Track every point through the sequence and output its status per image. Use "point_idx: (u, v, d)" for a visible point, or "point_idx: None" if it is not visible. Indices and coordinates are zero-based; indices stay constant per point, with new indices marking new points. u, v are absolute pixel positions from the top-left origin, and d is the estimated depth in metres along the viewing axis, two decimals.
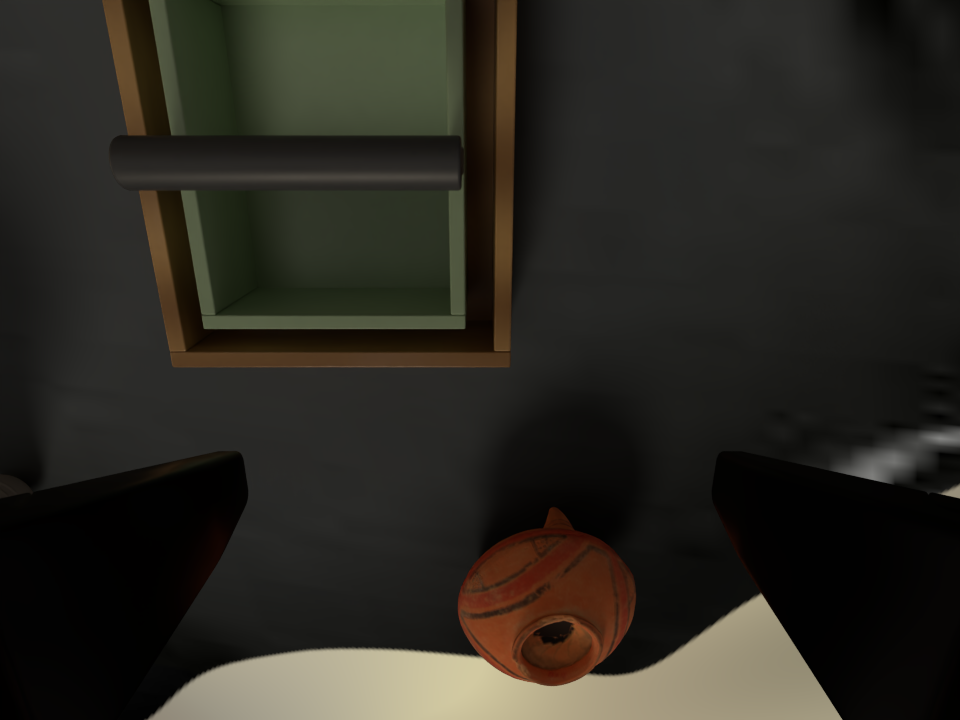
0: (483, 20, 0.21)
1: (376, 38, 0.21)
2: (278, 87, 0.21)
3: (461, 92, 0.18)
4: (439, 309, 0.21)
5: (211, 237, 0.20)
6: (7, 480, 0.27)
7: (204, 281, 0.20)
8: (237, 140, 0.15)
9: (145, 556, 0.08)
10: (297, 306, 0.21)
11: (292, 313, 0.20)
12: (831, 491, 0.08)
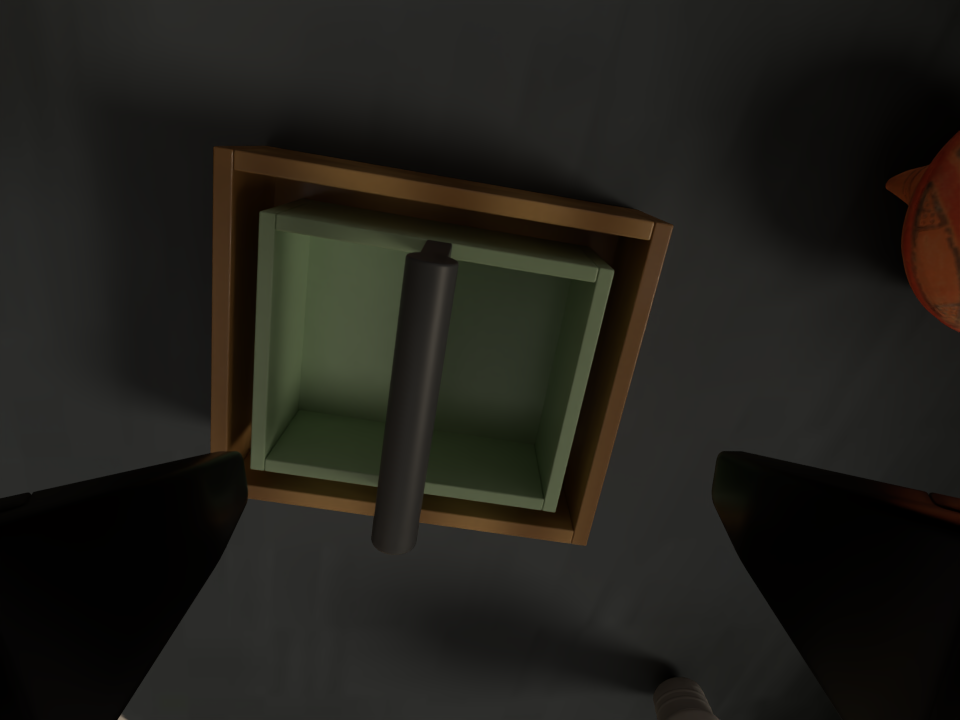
0: None
1: (333, 289, 0.23)
2: (365, 381, 0.24)
3: (376, 232, 0.18)
4: (588, 290, 0.19)
5: (475, 480, 0.22)
6: (660, 691, 0.30)
7: (511, 499, 0.21)
8: (384, 453, 0.17)
9: (145, 556, 0.08)
10: (554, 424, 0.21)
11: (558, 434, 0.21)
12: (831, 491, 0.08)
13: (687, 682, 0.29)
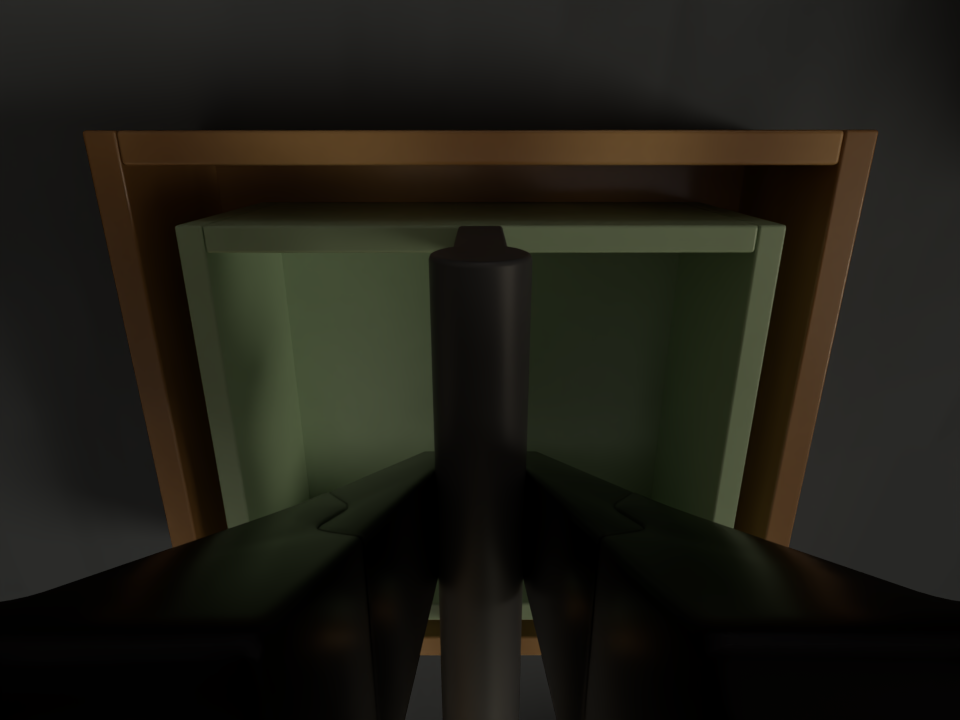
0: (293, 175, 0.15)
1: (329, 327, 0.16)
2: (396, 450, 0.17)
3: (372, 228, 0.11)
4: (735, 268, 0.12)
5: None
6: None
7: None
8: (445, 611, 0.10)
9: (419, 556, 0.08)
10: (695, 483, 0.14)
11: (710, 503, 0.13)
12: (546, 491, 0.08)
13: None
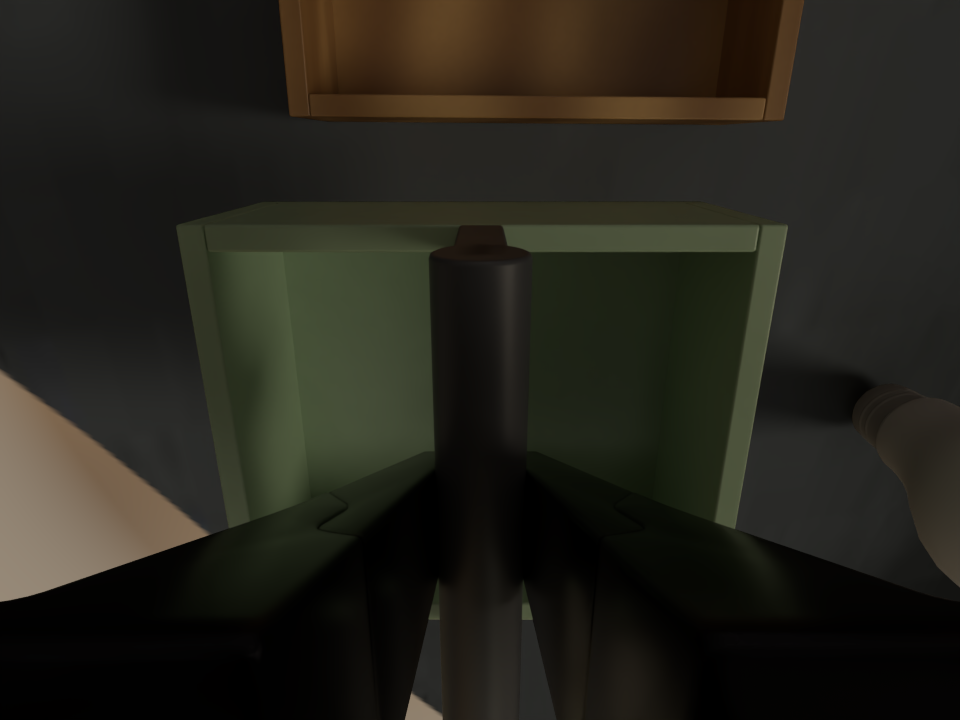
0: None
1: (330, 327, 0.16)
2: (397, 449, 0.17)
3: (373, 227, 0.11)
4: (736, 267, 0.12)
5: None
6: (863, 402, 0.24)
7: None
8: (445, 611, 0.10)
9: (419, 556, 0.08)
10: (696, 483, 0.14)
11: (712, 503, 0.13)
12: (546, 491, 0.08)
13: (896, 385, 0.24)
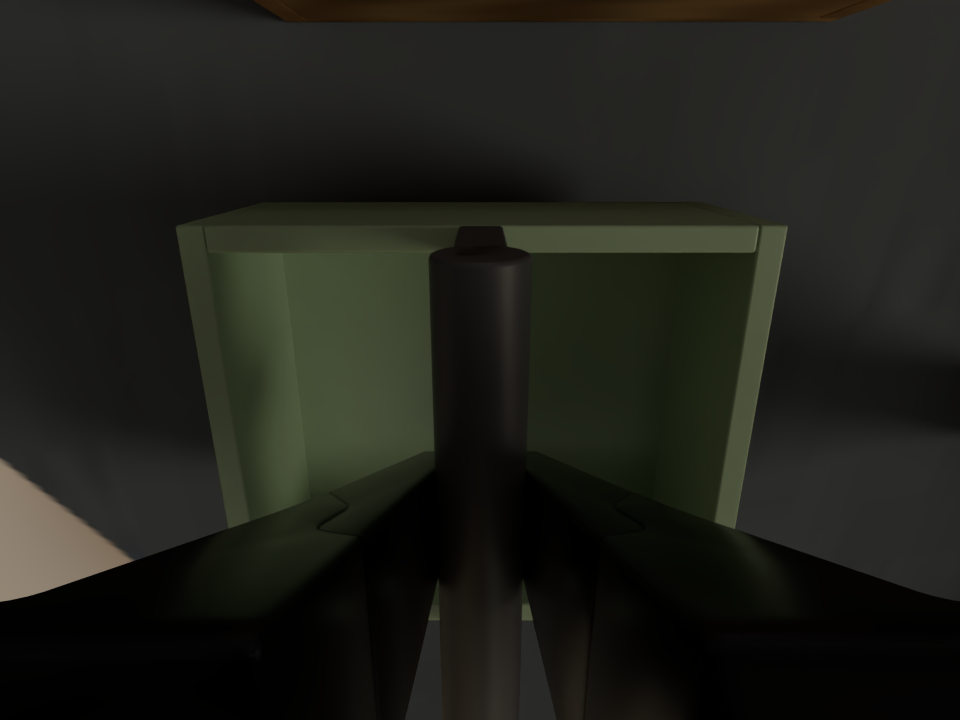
0: None
1: (330, 328, 0.16)
2: (396, 450, 0.17)
3: (373, 228, 0.11)
4: (736, 268, 0.12)
5: None
6: None
7: None
8: (445, 612, 0.10)
9: (419, 556, 0.08)
10: (696, 483, 0.14)
11: (712, 504, 0.13)
12: (546, 491, 0.08)
13: None
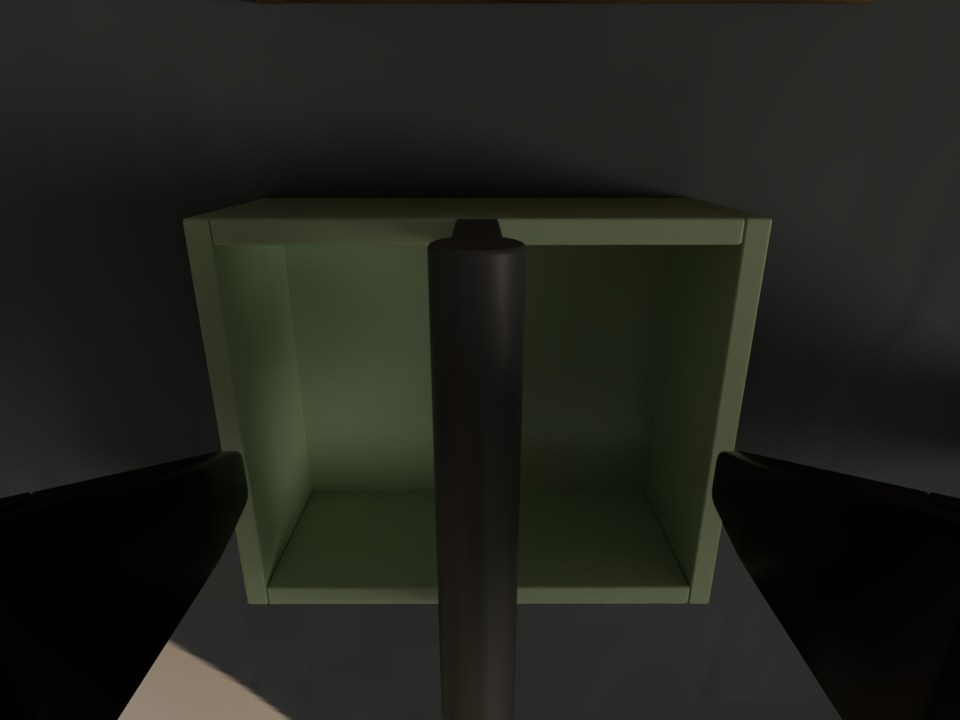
0: None
1: (331, 320, 0.16)
2: (395, 440, 0.17)
3: (373, 221, 0.11)
4: (724, 260, 0.12)
5: (579, 569, 0.14)
6: None
7: (640, 594, 0.14)
8: (443, 589, 0.10)
9: (145, 556, 0.08)
10: (687, 470, 0.14)
11: (702, 489, 0.13)
12: (831, 491, 0.08)
13: None
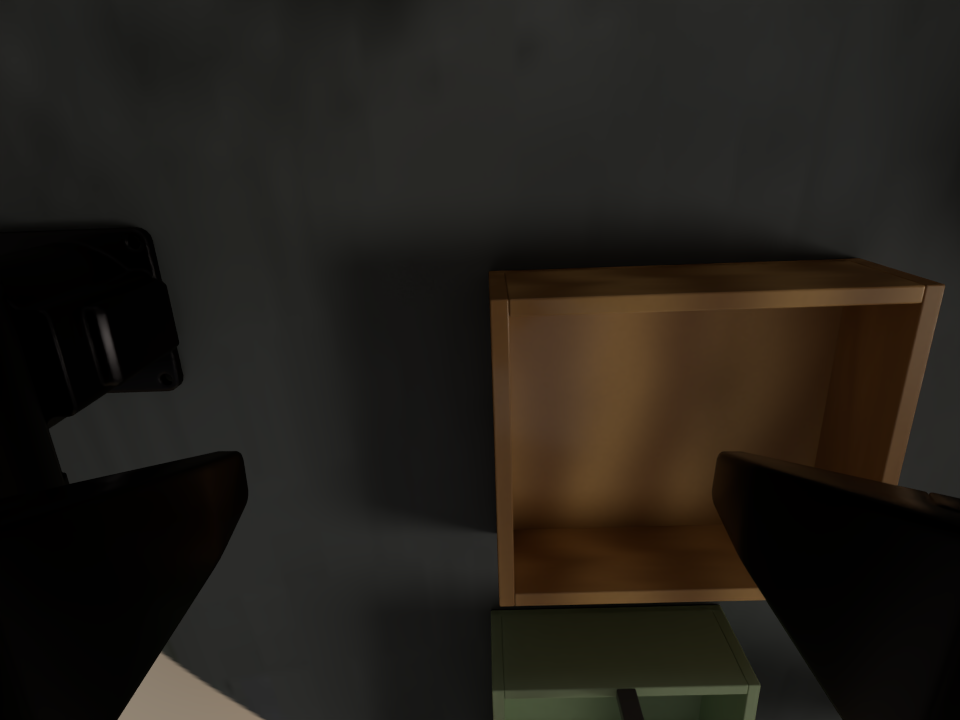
0: None
1: None
2: (555, 718, 0.30)
3: (578, 690, 0.24)
4: None
5: None
6: None
7: None
8: None
9: (145, 556, 0.08)
10: None
11: None
12: (831, 491, 0.08)
13: None
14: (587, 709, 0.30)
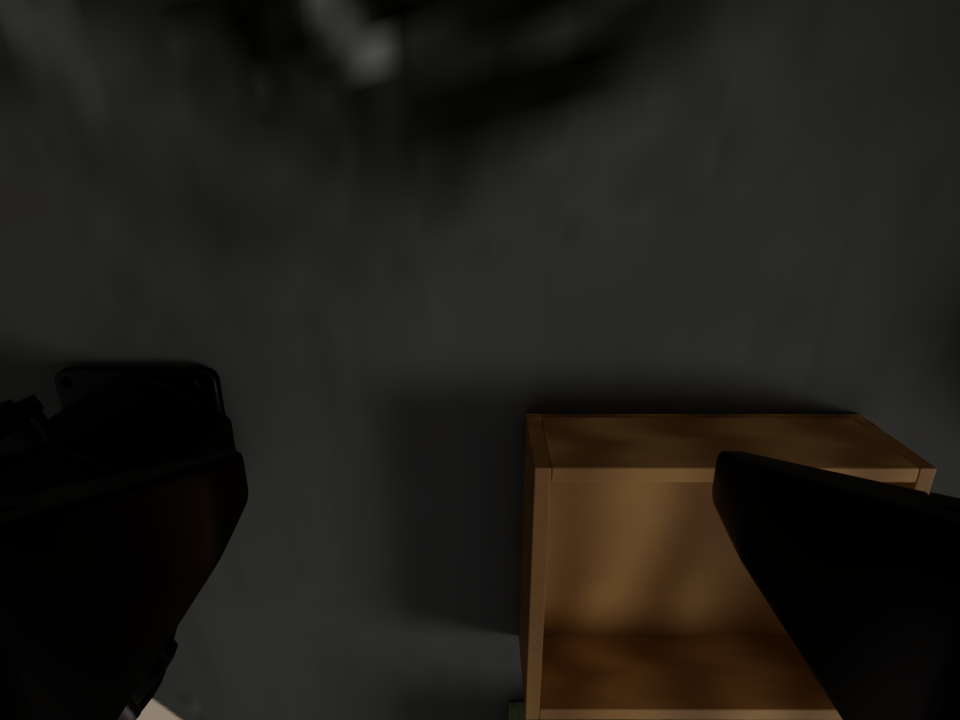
0: None
1: None
2: None
3: None
4: None
5: None
6: None
7: None
8: None
9: (145, 556, 0.08)
10: None
11: None
12: (831, 491, 0.08)
13: None
14: None
